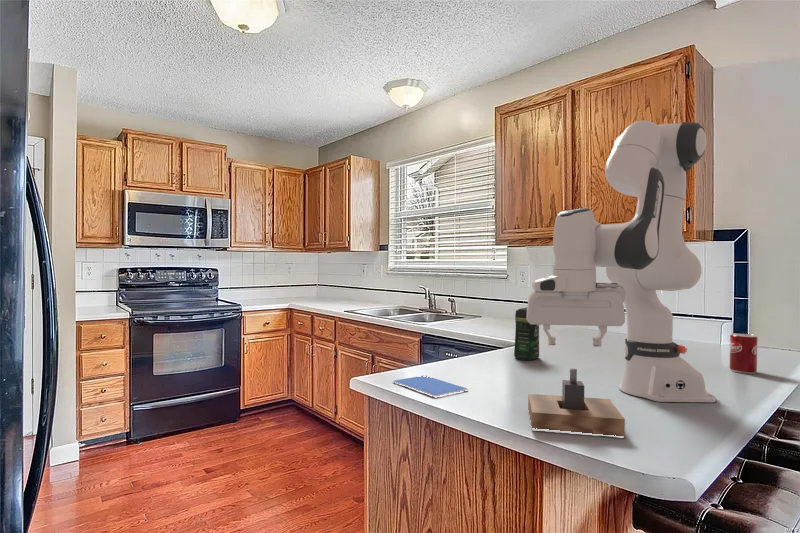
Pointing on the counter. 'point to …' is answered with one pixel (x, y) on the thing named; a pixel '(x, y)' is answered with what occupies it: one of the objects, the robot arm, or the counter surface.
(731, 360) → the soda can
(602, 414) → the socket
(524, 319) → the coffee jar
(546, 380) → the counter surface
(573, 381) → the plug
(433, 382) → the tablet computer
